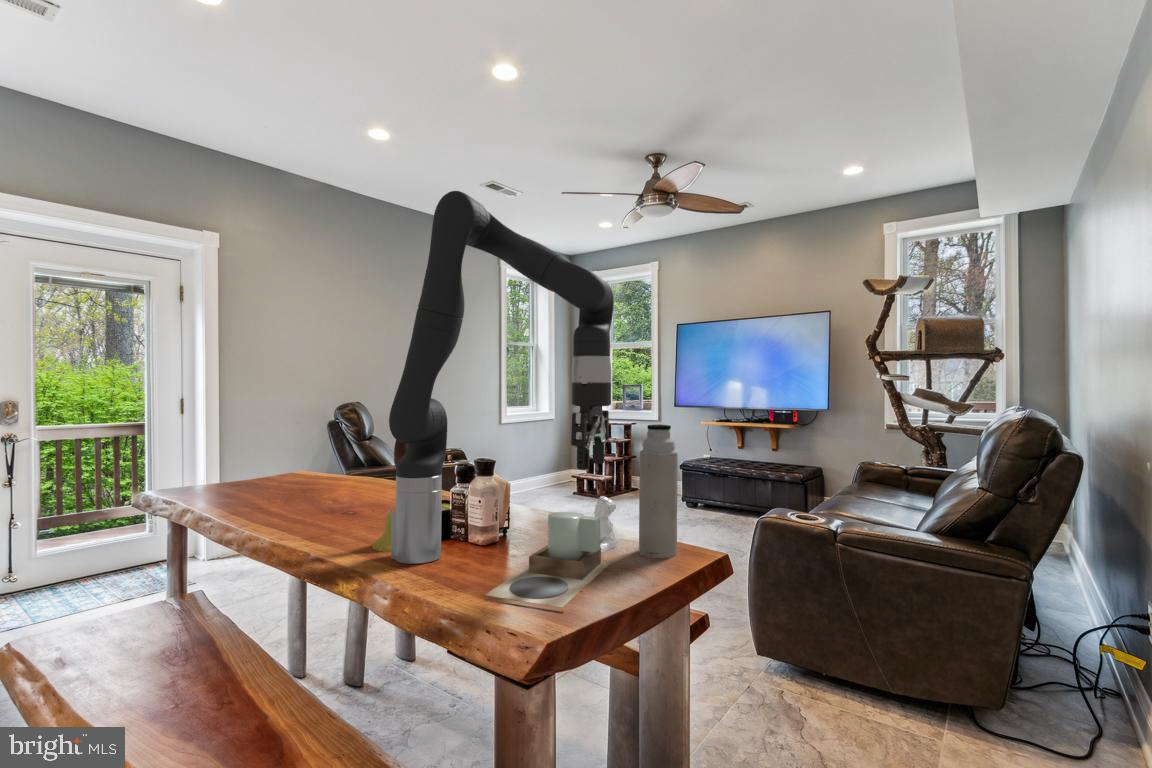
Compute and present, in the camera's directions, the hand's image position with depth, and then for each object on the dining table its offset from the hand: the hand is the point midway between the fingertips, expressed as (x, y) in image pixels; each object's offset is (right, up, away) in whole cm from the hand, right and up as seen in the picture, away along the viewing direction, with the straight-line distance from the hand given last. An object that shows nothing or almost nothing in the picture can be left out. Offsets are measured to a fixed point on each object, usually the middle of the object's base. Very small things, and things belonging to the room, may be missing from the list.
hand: (591, 466), depth 107 cm
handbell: (-42, -21, +21) cm, 52 cm away
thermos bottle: (+14, -21, +12) cm, 28 cm away
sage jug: (-3, -20, +1) cm, 20 cm away
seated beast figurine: (+2, -21, +17) cm, 27 cm away
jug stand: (-7, -21, -4) cm, 22 cm away
